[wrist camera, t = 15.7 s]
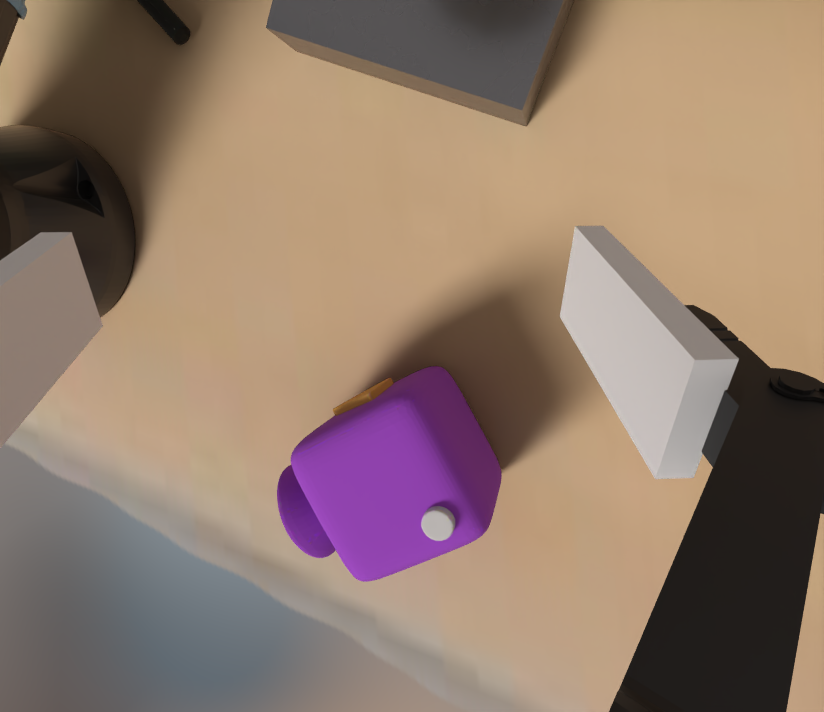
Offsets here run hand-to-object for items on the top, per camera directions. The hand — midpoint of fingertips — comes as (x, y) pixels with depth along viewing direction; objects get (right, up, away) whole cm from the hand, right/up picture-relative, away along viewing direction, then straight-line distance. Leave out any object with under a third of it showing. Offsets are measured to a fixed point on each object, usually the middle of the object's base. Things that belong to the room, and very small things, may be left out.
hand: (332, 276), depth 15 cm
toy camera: (+2, -9, +25) cm, 27 cm away
